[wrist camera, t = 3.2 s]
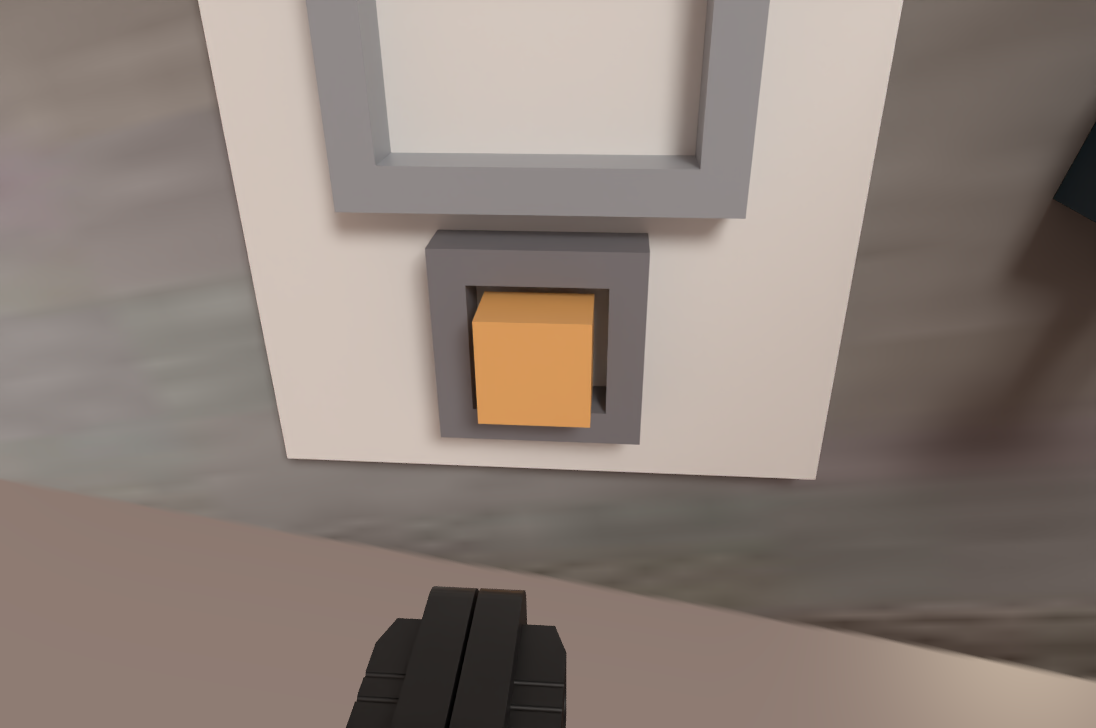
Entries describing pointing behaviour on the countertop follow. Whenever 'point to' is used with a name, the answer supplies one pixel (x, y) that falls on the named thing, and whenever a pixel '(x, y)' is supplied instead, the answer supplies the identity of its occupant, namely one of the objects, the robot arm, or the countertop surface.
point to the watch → (1081, 181)
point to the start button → (534, 358)
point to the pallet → (554, 215)
